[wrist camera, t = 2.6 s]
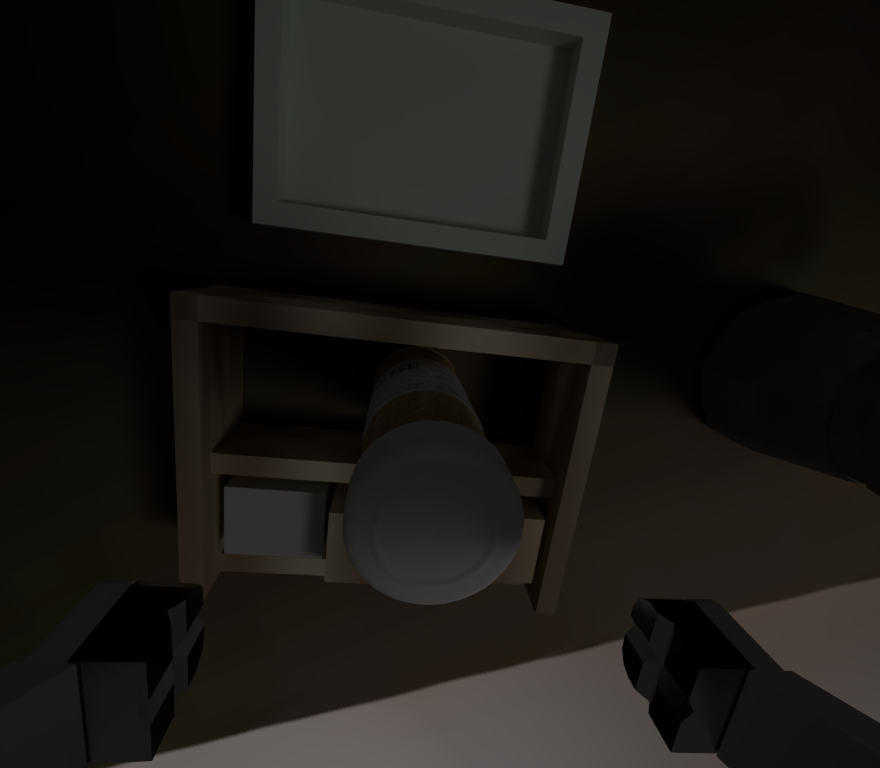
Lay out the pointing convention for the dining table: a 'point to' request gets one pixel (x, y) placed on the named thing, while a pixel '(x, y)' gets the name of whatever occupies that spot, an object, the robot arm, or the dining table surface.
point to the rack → (337, 451)
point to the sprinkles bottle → (428, 488)
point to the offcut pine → (339, 543)
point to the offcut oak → (526, 545)
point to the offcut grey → (276, 516)
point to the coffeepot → (800, 385)
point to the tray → (425, 121)
